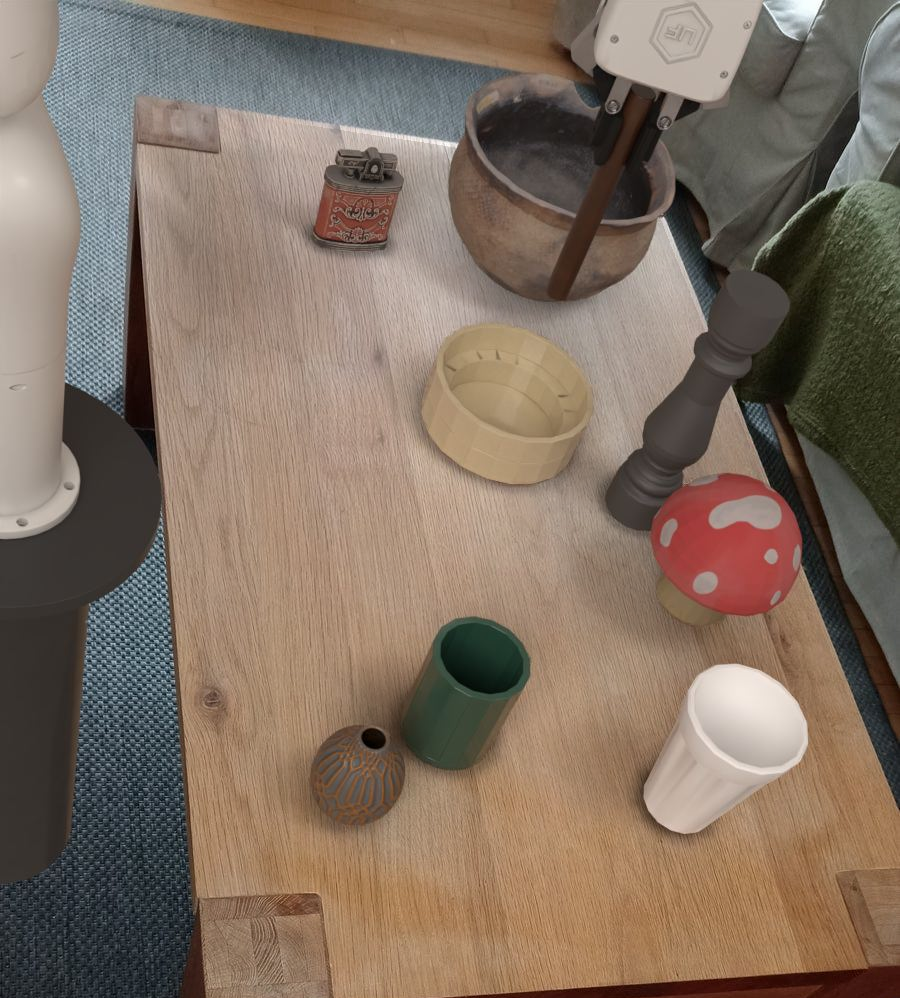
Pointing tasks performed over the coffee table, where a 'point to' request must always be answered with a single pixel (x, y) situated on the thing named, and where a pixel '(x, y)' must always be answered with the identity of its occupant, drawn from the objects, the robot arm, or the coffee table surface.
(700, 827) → the cup
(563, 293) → the stick
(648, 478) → the candle holder
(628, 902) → the coffee table surface
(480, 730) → the crock
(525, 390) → the mixing bowl
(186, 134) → the coffee table surface
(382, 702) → the coffee table surface
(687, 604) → the decorative mushroom
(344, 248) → the lighter
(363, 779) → the vase
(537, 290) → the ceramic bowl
